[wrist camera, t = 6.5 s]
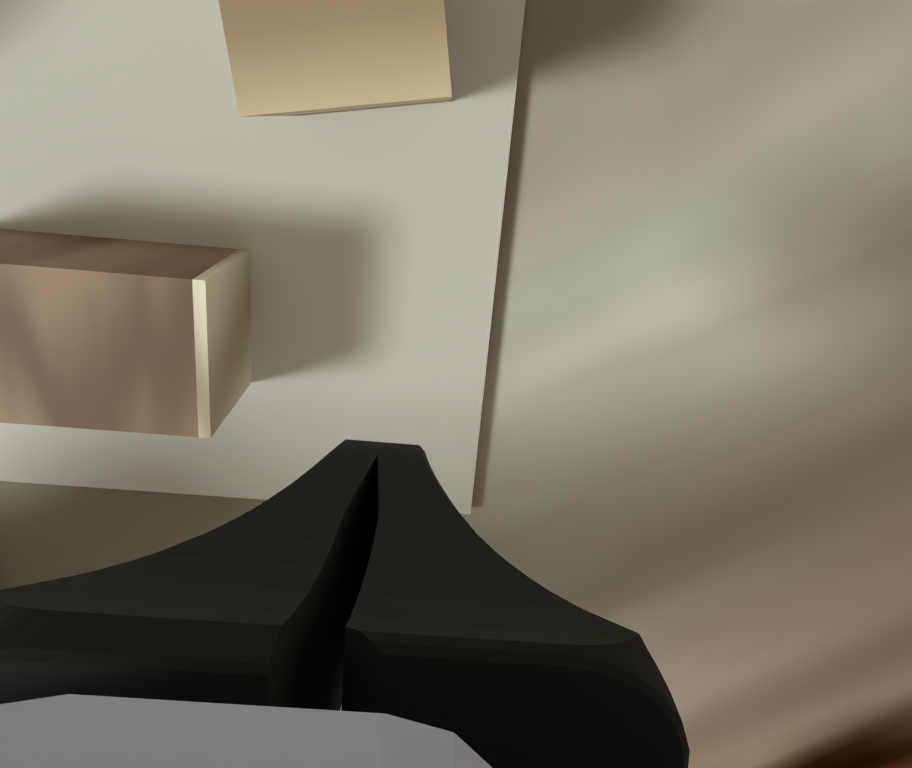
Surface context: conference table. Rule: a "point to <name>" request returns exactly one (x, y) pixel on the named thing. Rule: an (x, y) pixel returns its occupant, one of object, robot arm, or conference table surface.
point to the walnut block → (122, 333)
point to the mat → (270, 235)
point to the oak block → (335, 55)
